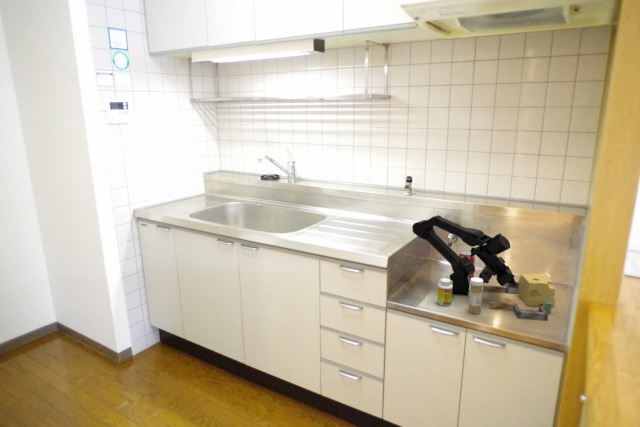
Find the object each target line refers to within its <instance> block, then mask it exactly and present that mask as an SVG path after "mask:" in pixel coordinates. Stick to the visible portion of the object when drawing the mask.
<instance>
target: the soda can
mask: <svg viewBox="0 0 640 427" xmlns="http://www.w3.org/2000/svg"><path fill="white" fill-rule="evenodd" d="M470 255H471V250H465V249H464V250H460V251H459V254H458V256H460V257H462V258H463V257H465V256H466V257H468V259H469V260H470V261H472V262H473V263H472V264H473V265H474V266H475V265H476V255H474V256H472V257H471V256H470ZM475 267H476V266H475ZM473 277H475V273H474V274H473V275H471V277H470V278H468V281H469V283H470V281H471V278H473Z"/></svg>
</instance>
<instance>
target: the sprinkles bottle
mask: <svg viewBox="0 0 640 427" xmlns="http://www.w3.org/2000/svg"><path fill="white" fill-rule="evenodd" d="M469 283H470V287H469V306H468V311H469V313H471V314H476V315H477V314H481V312H482V310H481V309H482V308H481V307H482V302H483V300H482V297H483V285H484V283H483V279H481V278H479V277H475V276H474V277H473V278H471V281H470V282H469Z"/></svg>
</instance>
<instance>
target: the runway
mask: <svg viewBox="0 0 640 427" xmlns="http://www.w3.org/2000/svg"><path fill="white" fill-rule="evenodd" d="M515 282H516V286H513V285H511V284H509V283H508V282H507V283H506V284H505V285H503V286H501V285H485V284H483V286H482V293H483V292H485V293H499V294H500V293H501V294H511V295H512V294H515V295H519V292H518V286H519V281H515ZM488 308H489V310H500V311H501V310H502V311H513V312H514V315H515V316H516V319H527V320H537V321H539V320H540V321H548V318H549V314H550V315H551V314H552V303H551V302H545V306H543V305H538V310H537V309H536V310H533V309H522V308H520V307H519V305H518V303H515V302H514V303H513V302H512V303H511V302H501V301H498V302H497V301H489V304H488Z"/></svg>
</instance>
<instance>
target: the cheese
mask: <svg viewBox="0 0 640 427" xmlns="http://www.w3.org/2000/svg"><path fill="white" fill-rule="evenodd" d="M518 282H519V286H518V292H519V294H518V296H519V297H520V298H521V300H522V301H523V302H524V303H525V304H526V305H527V306H529V307H534V306H535V307H537V306H538V307H539V305H543V306H545V302H551V303H552V307H554V305H555V303H556V302H555V301H556V299H555V294H556V288H555V287H554V282H553V280H552V279H551V278H550V276H548V274H546V273H536V274H535V273H533V274H532V273H531V274H525V273H521V274H520V275H519V279H518ZM552 307H551V308H552Z"/></svg>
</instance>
